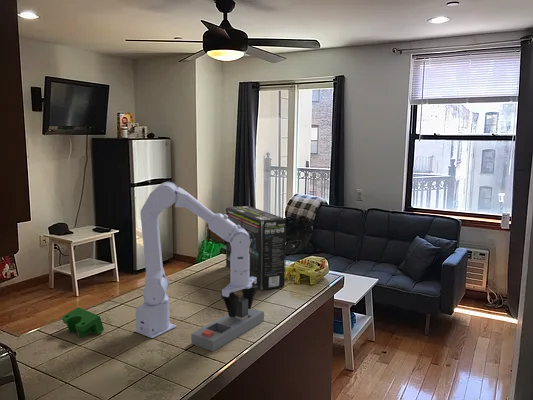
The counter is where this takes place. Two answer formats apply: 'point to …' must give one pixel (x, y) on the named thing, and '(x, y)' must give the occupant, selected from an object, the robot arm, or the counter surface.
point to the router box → (262, 244)
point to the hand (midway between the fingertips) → (240, 312)
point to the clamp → (83, 322)
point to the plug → (242, 309)
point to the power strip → (225, 330)
